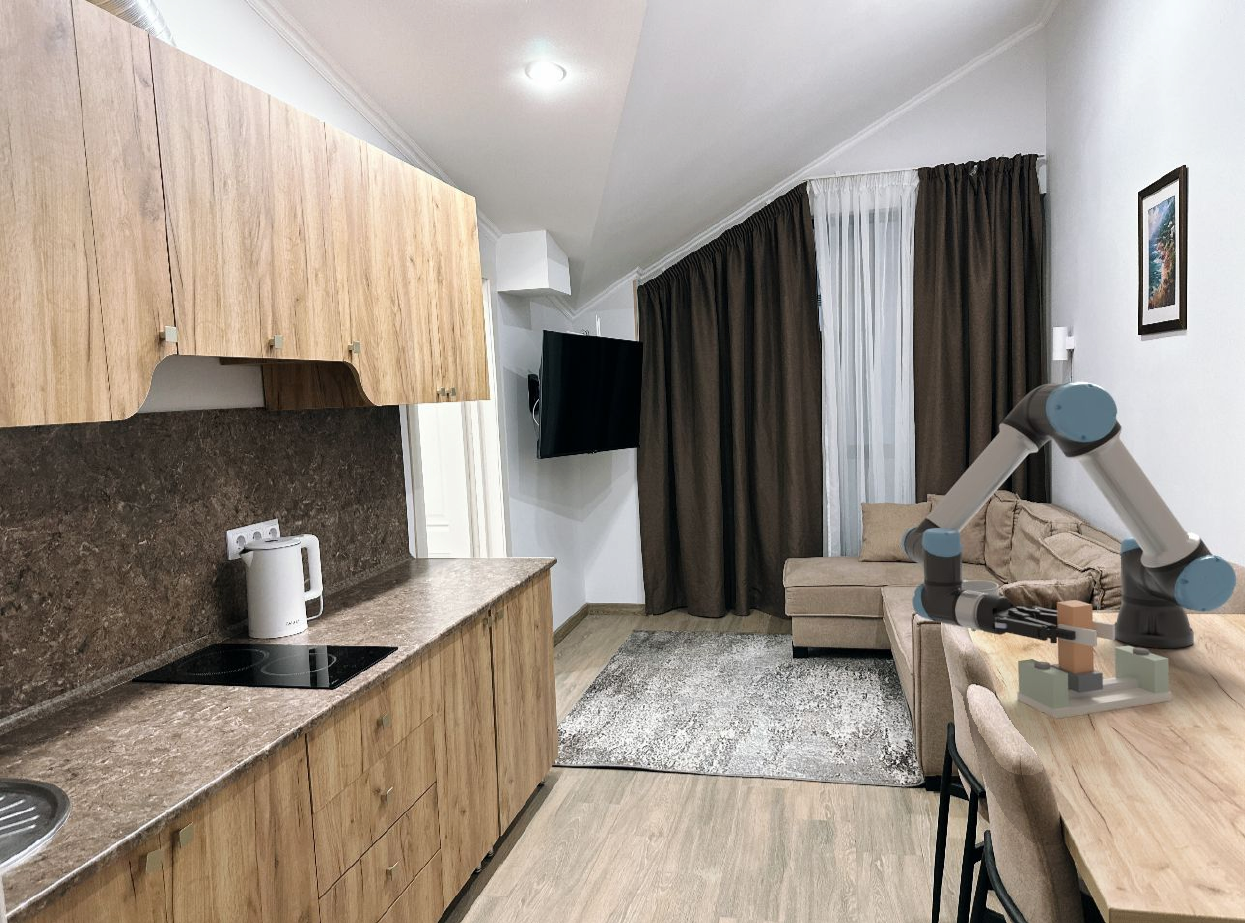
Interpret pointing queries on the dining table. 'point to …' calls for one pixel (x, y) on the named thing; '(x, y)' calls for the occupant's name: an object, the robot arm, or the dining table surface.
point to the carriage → (1077, 648)
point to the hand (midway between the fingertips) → (1104, 635)
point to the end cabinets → (1129, 661)
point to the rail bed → (1102, 698)
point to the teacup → (981, 586)
